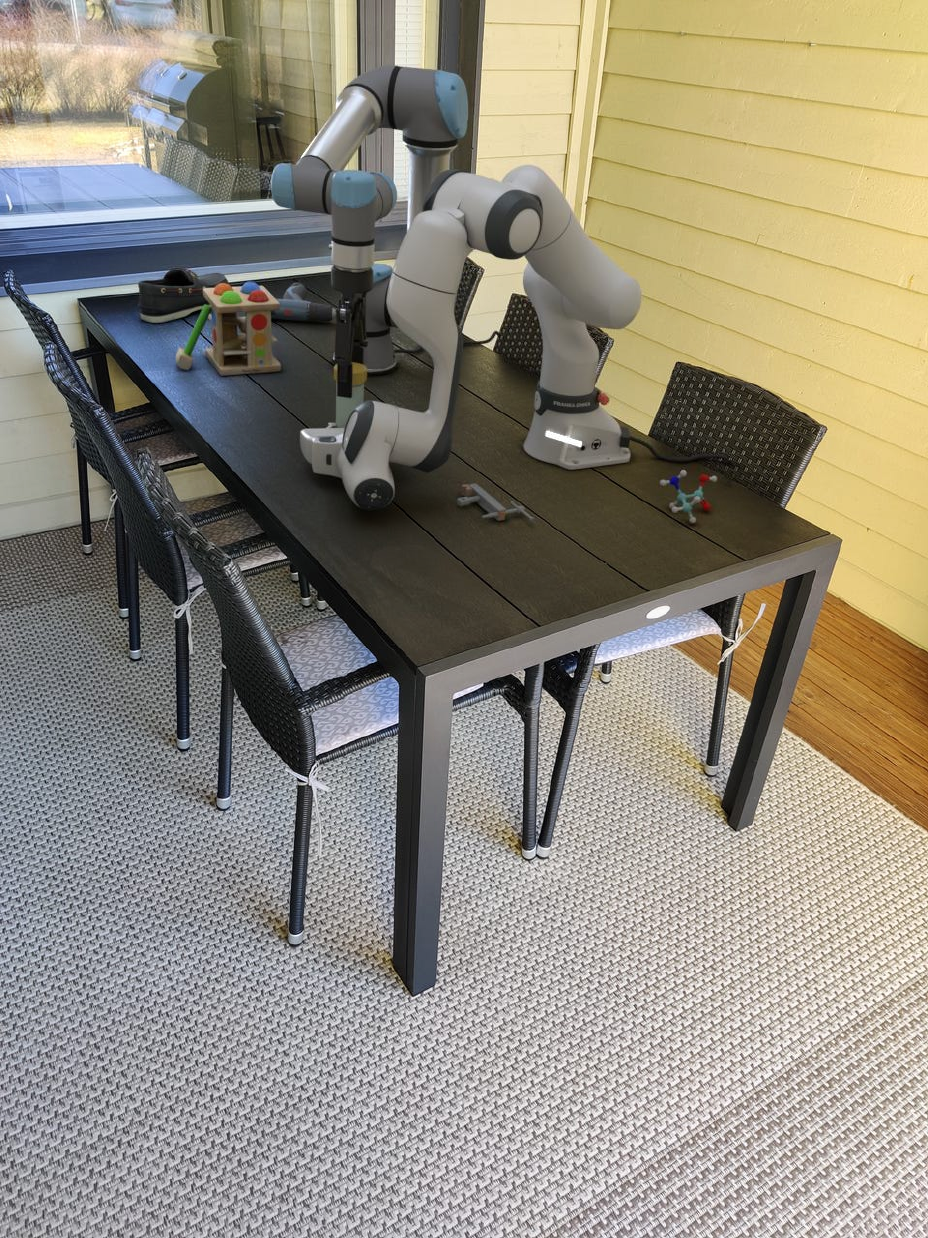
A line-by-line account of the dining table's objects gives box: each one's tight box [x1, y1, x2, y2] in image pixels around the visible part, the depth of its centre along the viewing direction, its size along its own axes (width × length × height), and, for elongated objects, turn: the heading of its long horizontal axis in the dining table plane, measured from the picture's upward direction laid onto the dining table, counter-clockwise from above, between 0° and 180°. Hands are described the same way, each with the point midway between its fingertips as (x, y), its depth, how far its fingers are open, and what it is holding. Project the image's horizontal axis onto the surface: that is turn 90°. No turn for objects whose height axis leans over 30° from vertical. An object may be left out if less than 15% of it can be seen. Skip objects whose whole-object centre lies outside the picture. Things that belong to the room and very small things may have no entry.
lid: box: [333, 362, 368, 385], centre depth 186 cm, size 6×6×2 cm
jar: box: [335, 380, 365, 428], centre depth 190 cm, size 5×5×18 cm
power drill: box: [271, 282, 336, 322], centre depth 265 cm, size 5×19×20 cm
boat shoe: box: [137, 266, 230, 324], centre depth 260 cm, size 13×33×10 cm, turn 147°
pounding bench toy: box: [174, 281, 282, 377], centre depth 225 cm, size 23×14×18 cm, turn 116°
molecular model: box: [659, 469, 718, 524], centre depth 185 cm, size 12×10×10 cm
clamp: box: [456, 483, 535, 523], centre depth 180 cm, size 15×2×10 cm
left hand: (350, 388), depth 187 cm, fingers open, 8 cm apart
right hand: (348, 425), depth 192 cm, fingers closed on jar, 5 cm apart
